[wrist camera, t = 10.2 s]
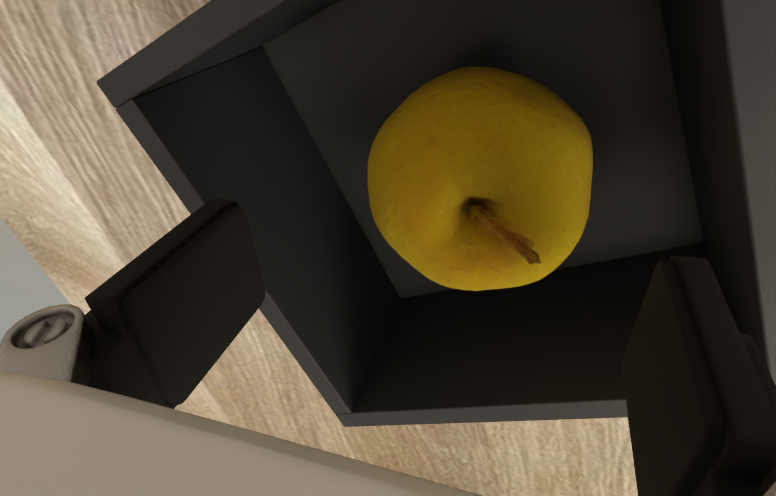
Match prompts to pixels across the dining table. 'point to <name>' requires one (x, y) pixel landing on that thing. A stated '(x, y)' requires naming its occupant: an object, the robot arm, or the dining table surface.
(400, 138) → the apple
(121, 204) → the dining table surface
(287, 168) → the bin
